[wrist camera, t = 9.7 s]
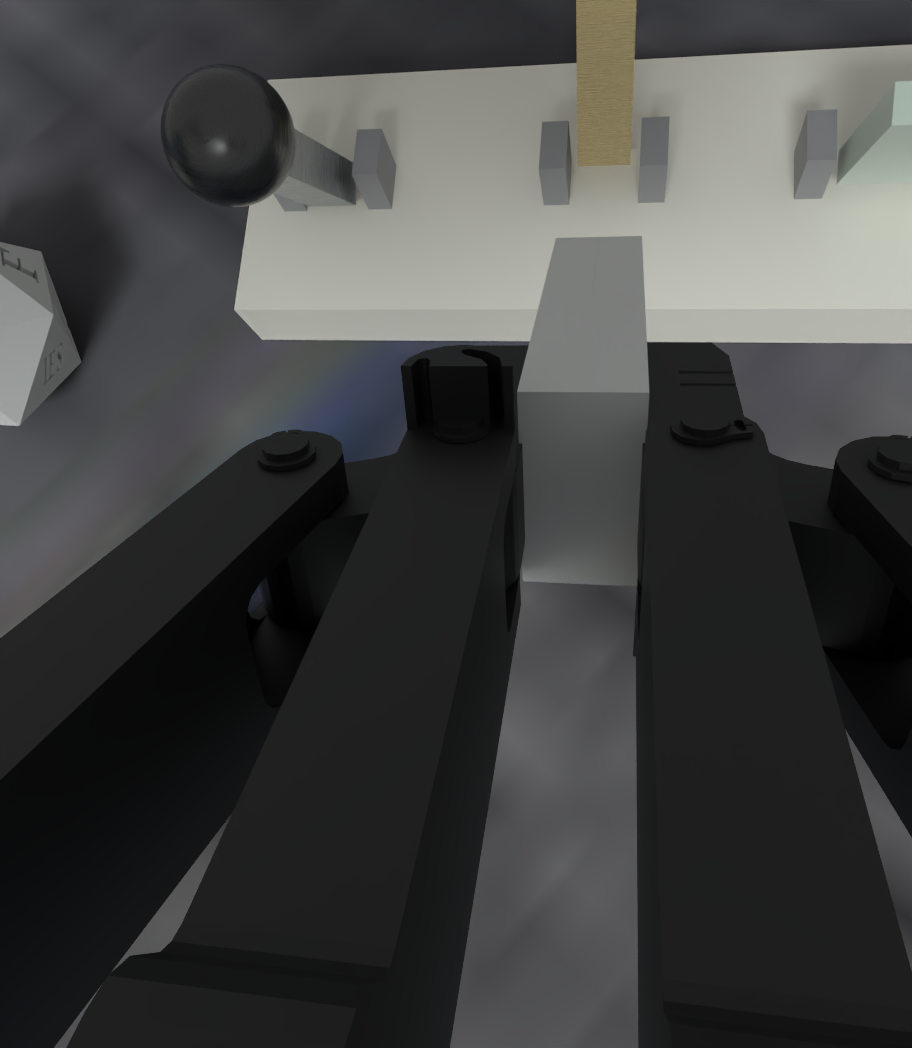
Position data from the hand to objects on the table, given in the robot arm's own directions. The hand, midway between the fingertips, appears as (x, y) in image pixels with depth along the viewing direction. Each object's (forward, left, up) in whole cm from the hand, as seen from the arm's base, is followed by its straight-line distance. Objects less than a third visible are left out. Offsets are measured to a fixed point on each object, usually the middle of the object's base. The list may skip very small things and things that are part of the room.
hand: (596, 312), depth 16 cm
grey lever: (-17, +4, -16) cm, 24 cm away
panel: (-8, +11, -19) cm, 24 cm away
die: (-26, -10, -20) cm, 34 cm away
